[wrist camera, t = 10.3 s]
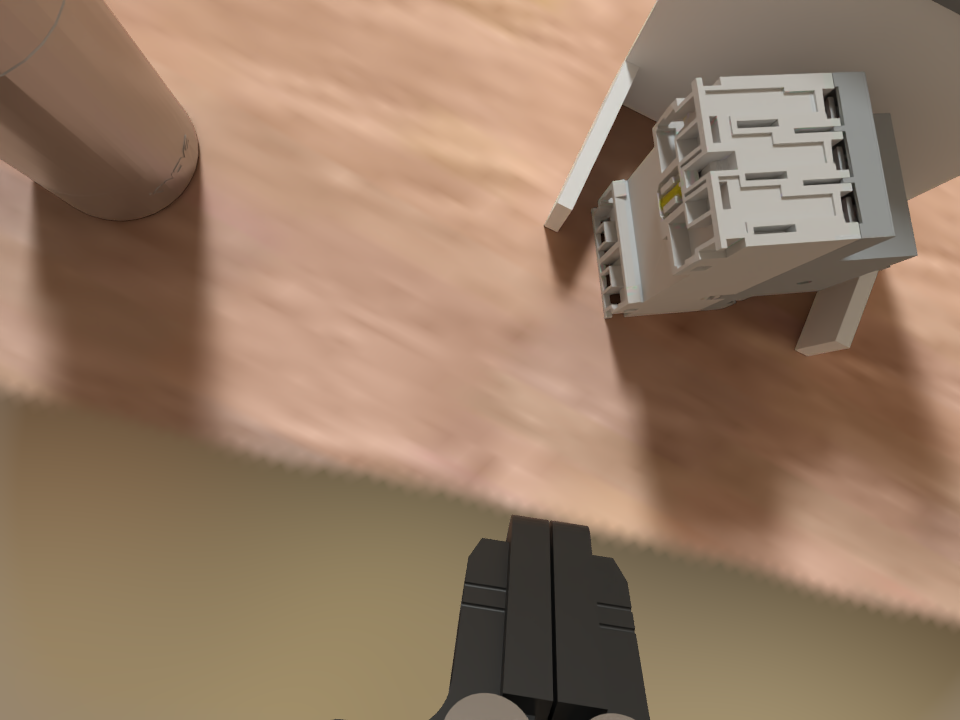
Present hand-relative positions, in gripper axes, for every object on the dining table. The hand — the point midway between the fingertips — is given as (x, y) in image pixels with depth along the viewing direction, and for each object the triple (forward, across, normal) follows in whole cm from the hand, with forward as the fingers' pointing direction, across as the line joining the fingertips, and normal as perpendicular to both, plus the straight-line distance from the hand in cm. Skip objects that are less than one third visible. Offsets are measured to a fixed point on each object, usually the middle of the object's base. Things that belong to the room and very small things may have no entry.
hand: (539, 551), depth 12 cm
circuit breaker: (+32, -12, +3) cm, 34 cm away
